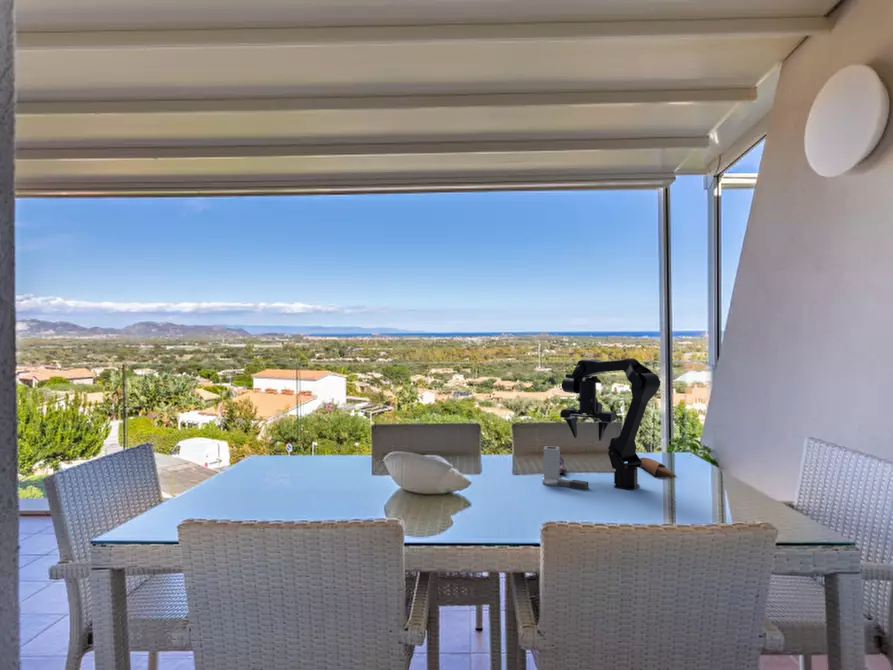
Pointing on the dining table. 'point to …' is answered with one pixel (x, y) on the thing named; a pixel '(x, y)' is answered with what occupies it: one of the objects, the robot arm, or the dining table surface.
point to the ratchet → (566, 483)
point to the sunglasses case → (656, 468)
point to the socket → (551, 463)
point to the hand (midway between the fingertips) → (587, 439)
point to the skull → (562, 465)
